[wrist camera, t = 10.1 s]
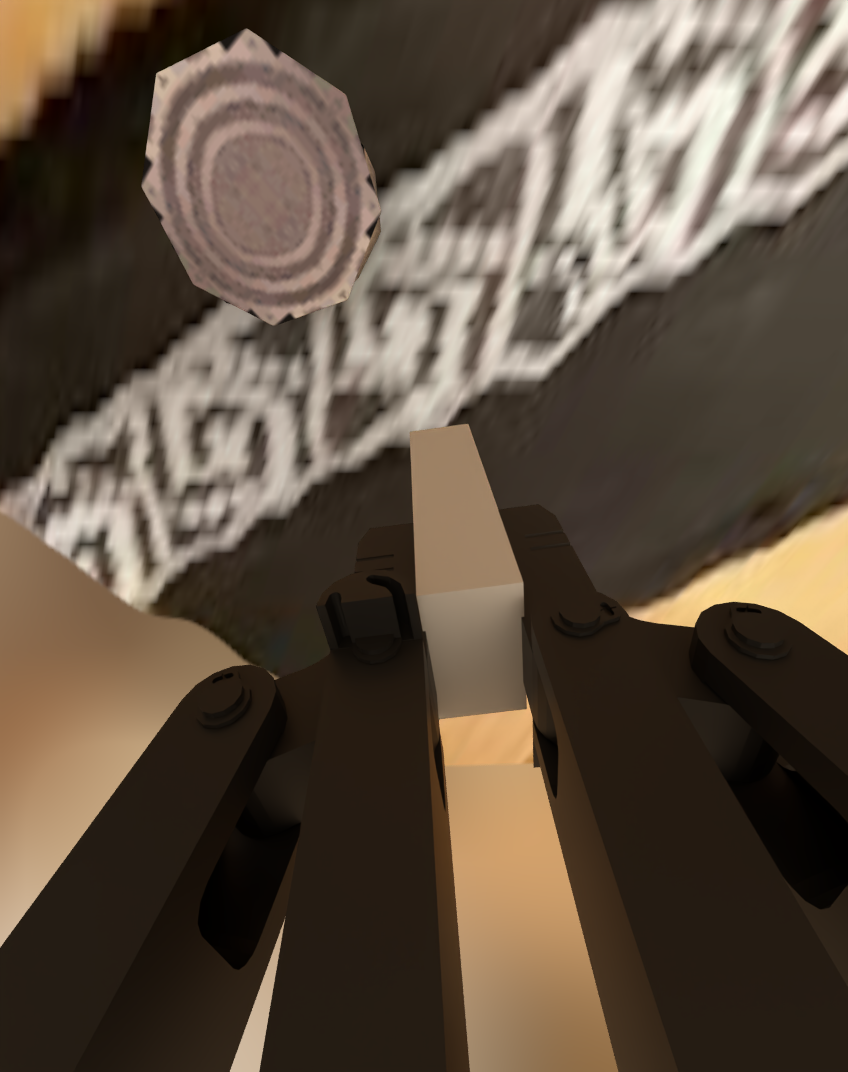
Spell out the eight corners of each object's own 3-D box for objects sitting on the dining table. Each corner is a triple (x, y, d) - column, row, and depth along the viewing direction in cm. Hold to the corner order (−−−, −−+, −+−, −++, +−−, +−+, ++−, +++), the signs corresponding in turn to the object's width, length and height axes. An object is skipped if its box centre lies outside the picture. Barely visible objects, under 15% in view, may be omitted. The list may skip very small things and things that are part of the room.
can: (408, 260, 36) (410, 270, 25) (275, 323, 38) (228, 356, 27) (336, 64, 30) (302, -23, 20) (183, 151, 32) (81, 112, 22)
